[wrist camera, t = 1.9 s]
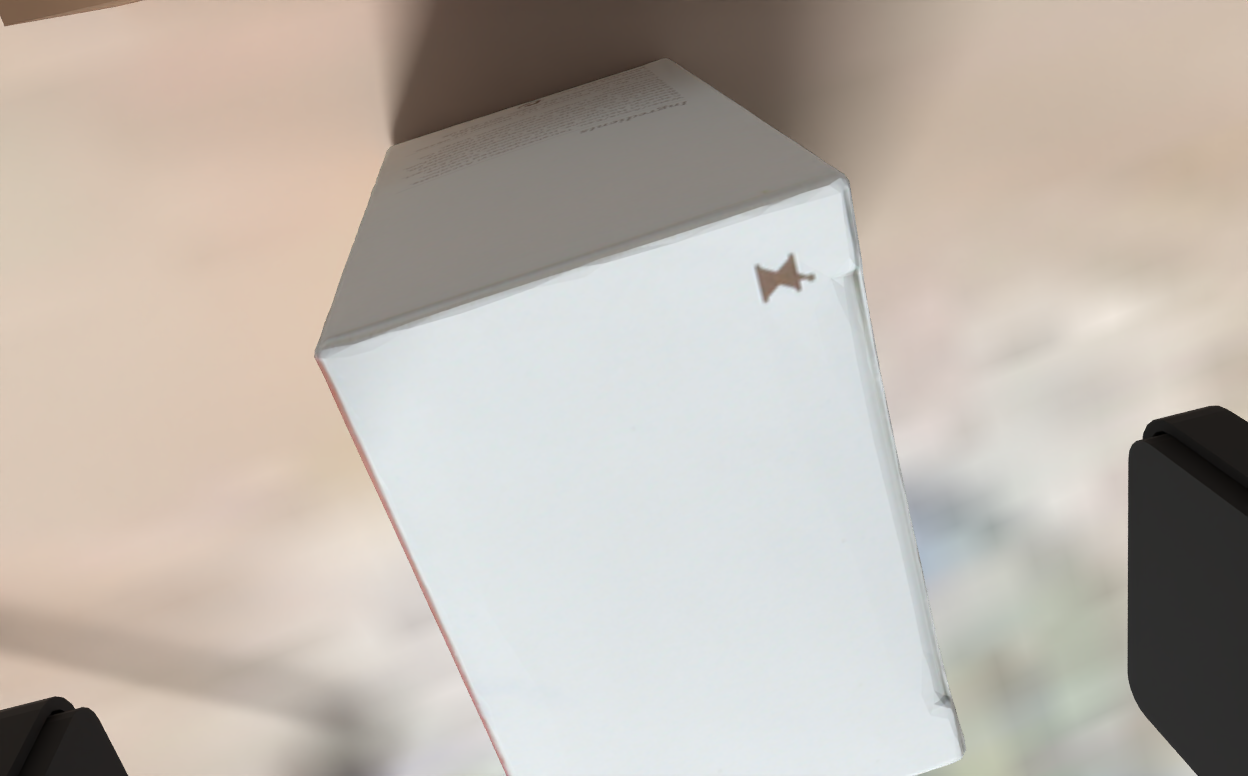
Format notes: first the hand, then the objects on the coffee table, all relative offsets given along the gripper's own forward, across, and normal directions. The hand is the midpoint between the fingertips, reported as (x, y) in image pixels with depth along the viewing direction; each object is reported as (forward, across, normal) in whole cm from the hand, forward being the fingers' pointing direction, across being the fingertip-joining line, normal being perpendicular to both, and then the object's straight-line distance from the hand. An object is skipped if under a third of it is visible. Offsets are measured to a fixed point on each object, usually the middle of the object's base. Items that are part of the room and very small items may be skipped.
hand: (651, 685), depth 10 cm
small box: (+13, -1, +1) cm, 13 cm away
